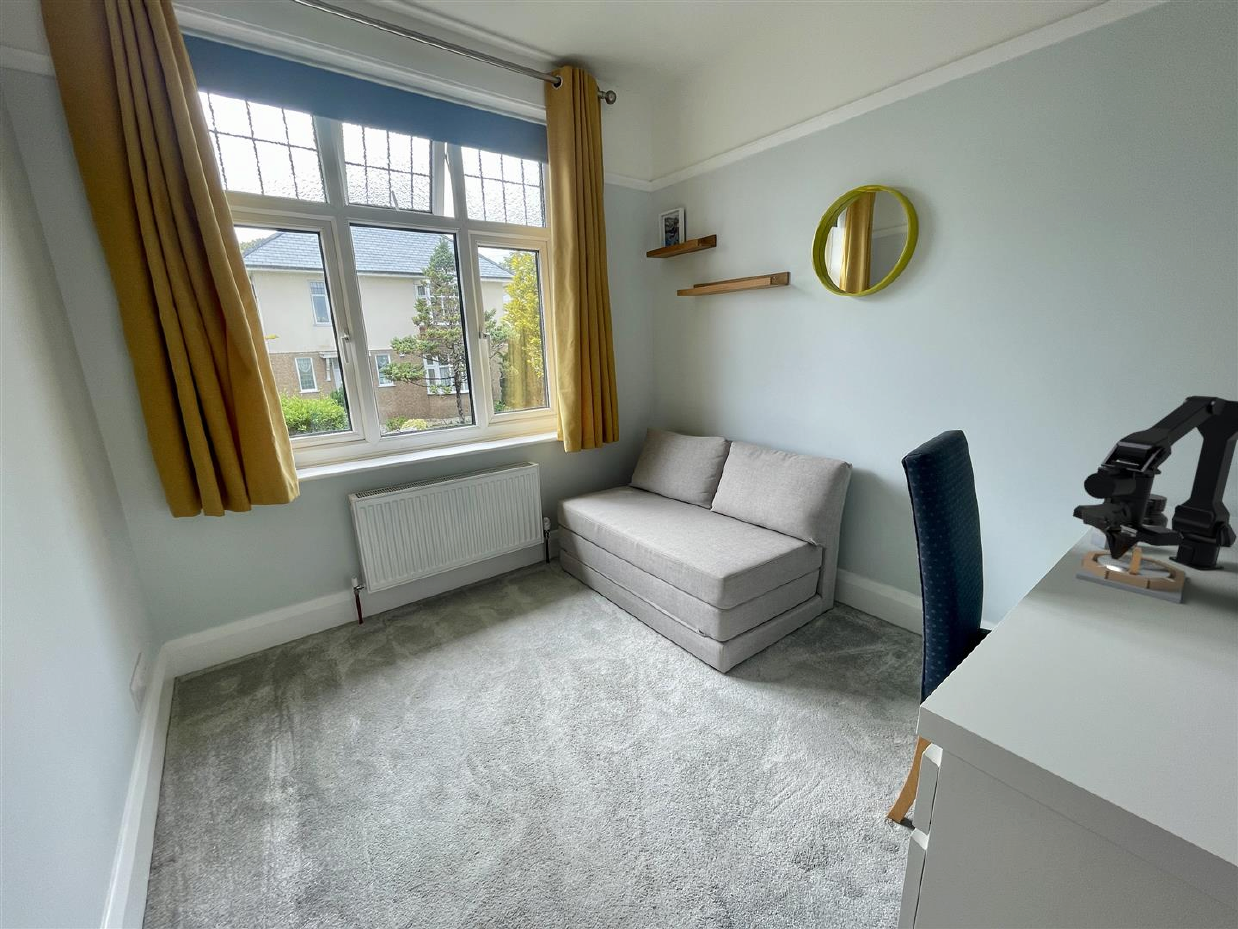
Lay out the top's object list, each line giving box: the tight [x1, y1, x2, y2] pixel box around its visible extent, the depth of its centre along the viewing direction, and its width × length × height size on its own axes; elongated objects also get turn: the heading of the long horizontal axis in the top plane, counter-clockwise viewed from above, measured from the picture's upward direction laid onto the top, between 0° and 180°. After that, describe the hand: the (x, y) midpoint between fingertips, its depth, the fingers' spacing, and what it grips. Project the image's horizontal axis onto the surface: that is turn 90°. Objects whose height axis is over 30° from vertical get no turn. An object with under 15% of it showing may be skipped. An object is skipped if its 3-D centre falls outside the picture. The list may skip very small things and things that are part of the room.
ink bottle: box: [1142, 493, 1169, 528], centre depth 134 cm, size 10×9×12 cm
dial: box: [1097, 546, 1170, 578], centre depth 112 cm, size 12×12×7 cm
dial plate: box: [1075, 550, 1187, 604], centre depth 112 cm, size 18×16×3 cm
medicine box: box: [1090, 525, 1138, 550], centre depth 129 cm, size 8×4×9 cm, turn 84°
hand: (1115, 559), depth 112 cm, fingers closed
